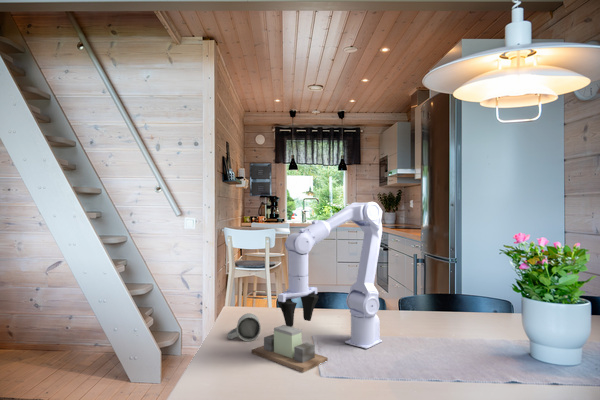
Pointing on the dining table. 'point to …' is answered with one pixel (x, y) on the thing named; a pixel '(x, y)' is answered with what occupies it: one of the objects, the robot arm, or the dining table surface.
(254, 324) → the ceramic mug
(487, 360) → the dining table surface
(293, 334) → the bracket block
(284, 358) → the post base
